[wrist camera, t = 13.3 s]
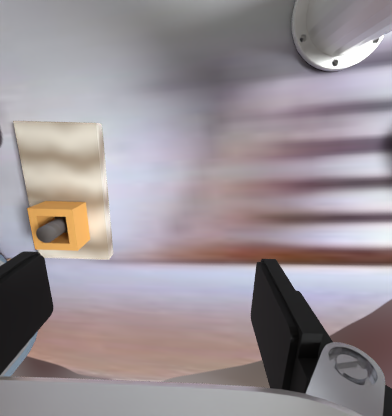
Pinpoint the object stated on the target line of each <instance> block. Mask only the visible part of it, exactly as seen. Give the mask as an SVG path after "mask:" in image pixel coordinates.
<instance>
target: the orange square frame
mask: <svg viewBox="0 0 392 416" xmlns="http://www.w3.org/2000/svg"><path fill="white" fill-rule="evenodd" d="M27 210H28V215H29V221H30V226H31V231H32V236H33V241H34V246H35V249H37V250H72V251H78V250H79V249H80V248H81V247H83V246H84V245H85V244H86V243H87V242H88V241H89V240H90V233H89V224H88V216H87V208H86V202H65V201H44V202H42V203H39V204H37V205H34V206H32V207H29V208H27ZM55 216H56V217H66V222H67V229H68V233H63V234H61V235H60V236H58V237H57V238H55V239H54V240H53V241H51V242H49V243H44V242H42V241H40V240H39V239H38V238H37V236H36V231H37V229H38V228H40V227H42V226H43V225H45V224H47V223H49V222H51V221H52V220H54V219H55Z"/></svg>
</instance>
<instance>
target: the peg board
mask: <svg viewBox="0 0 392 416" xmlns="http://www.w3.org/2000/svg"><path fill="white" fill-rule="evenodd" d="M13 123H14V128H15V133H16V139H17V144H18V149H19V154H20V159H21V164H22V170H23V175H24V180H25V185H26V190H27V196H28V201H29V206H30V207H32V206H34V205H37V204H39V203H42V202H44V201H65V202H86V208H87V216H88V224H89V233H90V240H89V241H88V242H87V243H86V244H85V245H84V246H83V247H81V248H80V249H79V250H78V251H72V250H38V252H39V253H40V254H41V255H42V256H43V257H44V258H72V259H106V260H109V259H110V258H111V256H112V255H113V245H112V234H111V222H110V211H109V200H108V188H107V177H106V166H105V154H104V143H103V132H102V124H99V123H76V122H37V121H13ZM63 233H68V229H67V222H66V217H56V216H55V219H54V220H52V221H51V222H49V223H47V224H45V225H43V226H42V227H40V228H38V229H37V231H36V236H37V238H38V239H39V240H40V241H42V242H44V243H49V242H51V241H53V240H54V239H55V238H57V237H58V236H60V235H61V234H63Z"/></svg>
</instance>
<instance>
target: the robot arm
mask: <svg viewBox="0 0 392 416" xmlns="http://www.w3.org/2000/svg"><path fill="white" fill-rule="evenodd" d="M390 31H392V0H296V2H295V5H294V9H293V14H292V35H293V40H294V43H295V46H296V48H297V50H298V52H299V53H300V55H301V56H302V58H303V59H304V60H305V61H306V62H307V63H308V64H310V65H312V66H313V67H315V68H317V69H320V70H324V71H339V70H343V69H346V68H349V67H351V66H353V65H355V64H358V63H359V62H361V61H362V60H364V59H365V58H367V57H368V56H369V55H370V54H371V53H372V52H373V51H374V50H375V49H376V48H377V46H378V45H379V44H380V43H381V41H382V39H383V37H384V36H385V34H387V33H389V32H390ZM300 39H301V40H302V42H301V41H300ZM332 63H333V65H332ZM52 312H53V302H52V297H51V292H50V286H49V281H48V276H47V270H46V265H45V259H44V257H43V256H42V255H41V254H40V253H39V252H22V253H20V254H18V255H17V256H15V257H14V258H12V259H10V260H9V261H7V262H6V263H4V264H3V265H1V266H0V375H1V374H2V373H3V371H4V370H5V369H6V368H7V367H8V365H9V364H10V363H11V362H12V361H13V360H14V358H15V357H16V356H17V355H18V354H19V352H20V351H21V350H22V349H23V348H24V346H25V345H26V344H27V343H28V342H29V341H30V339H31V338H32V337H33V336H34V335H35V333H36V332H37V331H38V330H39V329H40V327H41V326H42V325H43V324H44V323H45V322H46V320H47V319H48V318H49V317H50V316H51V314H52ZM251 321H252V325H253V329H254V332H255V336H256V339H257V343H258V346H259V350H260V353H261V357H262V360H263V363H264V367H265V371H266V375H267V378H268V382H269V385H270V388H263V387H250V386H234V385H218V384H199V383H176V382H151V381H127V380H99V379H69V378H41V377H40V378H39V377H9V376H0V416H392V389H391V388H390V387H388V386H386V385H385V378H384V374H383V372H382V370H381V369H380V367H379V366H378V365H377V364H376V362H375V361H374V360H373V359H372V358H370V357H369V356H368V355H367V354H366V353H364V352H362V351H361V350H359V349H357V348H355V347H353V346H351V345H348V344H344V343H339V342H333V341H332V340H331V338H330V337H329V335H328V334H327V332H326V331H325V329H324V328H323V326H322V325H321V323H320V322H319V320H318V319H317V317H316V315H315V314H314V312H313V311H312V309H311V308H310V306H309V305H308V303H307V302H306V300H305V299H304V297H303V296H302V294H301V293H300V292H299V291H296V290H295V289H294V287H293V286H292V284H291V283H290V281H289V279H288V278H287V276H286V275H285V273H284V271H283V270H282V268H281V267H280V265H279V264H278V262H277V260H276V259H262V260H261V262H257V265H256V273H255V282H254V291H253V299H252V308H251Z"/></svg>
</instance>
